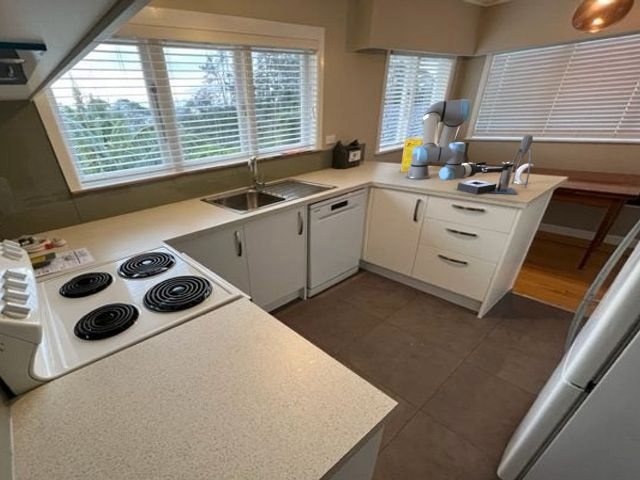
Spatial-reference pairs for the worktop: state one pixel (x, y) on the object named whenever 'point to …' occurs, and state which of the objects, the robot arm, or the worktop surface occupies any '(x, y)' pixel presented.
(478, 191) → the blender base
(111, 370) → the worktop surface
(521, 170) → the curved silver pipe
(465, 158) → the beer bottle
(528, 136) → the citrus juicer
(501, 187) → the blade unit
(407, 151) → the packaging box
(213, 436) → the worktop surface
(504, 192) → the mat
